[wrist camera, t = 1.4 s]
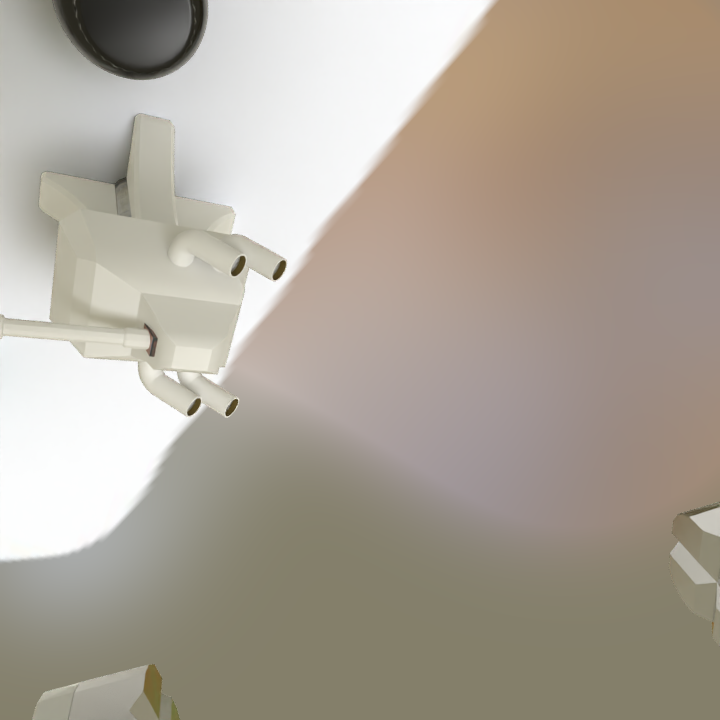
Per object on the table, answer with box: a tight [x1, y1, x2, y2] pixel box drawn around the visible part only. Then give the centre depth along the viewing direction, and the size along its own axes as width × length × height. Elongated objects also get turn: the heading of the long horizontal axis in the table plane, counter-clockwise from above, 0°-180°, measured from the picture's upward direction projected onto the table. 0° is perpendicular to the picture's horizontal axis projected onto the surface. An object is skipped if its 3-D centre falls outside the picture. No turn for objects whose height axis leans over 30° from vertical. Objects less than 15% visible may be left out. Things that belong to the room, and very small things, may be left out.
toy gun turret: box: [0, 113, 287, 417], centre depth 36 cm, size 12×13×18 cm
